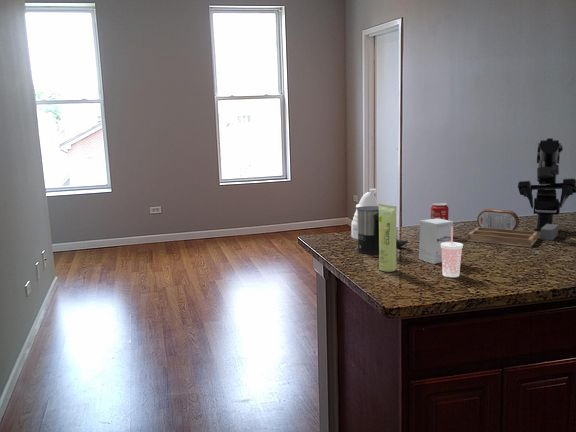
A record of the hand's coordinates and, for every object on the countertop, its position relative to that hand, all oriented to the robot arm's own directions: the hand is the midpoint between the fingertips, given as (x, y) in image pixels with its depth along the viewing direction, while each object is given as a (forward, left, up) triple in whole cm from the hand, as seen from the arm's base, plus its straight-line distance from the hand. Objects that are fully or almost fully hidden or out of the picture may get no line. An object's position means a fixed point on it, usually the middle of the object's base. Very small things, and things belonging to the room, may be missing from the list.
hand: (546, 207), depth 203 cm
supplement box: (+43, -25, -12) cm, 51 cm away
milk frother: (+38, -45, -12) cm, 60 cm away
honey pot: (+20, -58, -12) cm, 62 cm away
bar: (-7, +1, -12) cm, 14 cm away
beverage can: (+8, -35, -12) cm, 38 cm away
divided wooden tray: (+5, -13, -12) cm, 18 cm away
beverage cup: (+57, -16, -12) cm, 60 cm away
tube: (+60, -34, -12) cm, 70 cm away
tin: (-9, -18, -12) cm, 24 cm away
